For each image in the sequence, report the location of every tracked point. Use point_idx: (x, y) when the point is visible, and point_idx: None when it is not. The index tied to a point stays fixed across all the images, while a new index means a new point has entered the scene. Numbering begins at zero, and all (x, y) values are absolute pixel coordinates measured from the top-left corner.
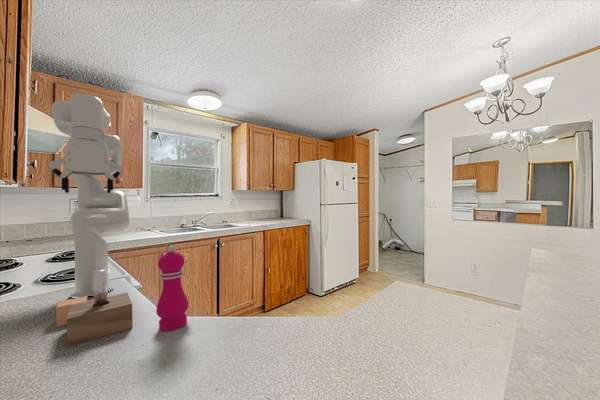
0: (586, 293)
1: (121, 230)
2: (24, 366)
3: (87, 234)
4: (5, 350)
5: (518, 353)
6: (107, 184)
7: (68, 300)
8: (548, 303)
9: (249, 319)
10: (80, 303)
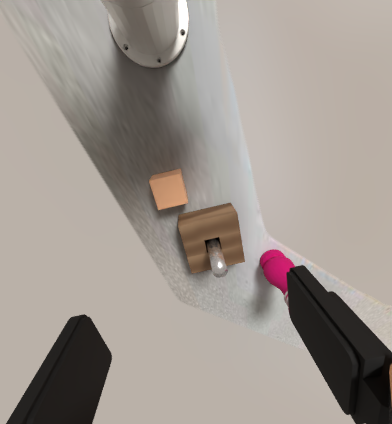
0: None
1: None
2: (172, 274)
3: None
4: (140, 239)
5: None
6: (319, 362)
7: (161, 184)
8: None
9: (329, 280)
10: (188, 229)
